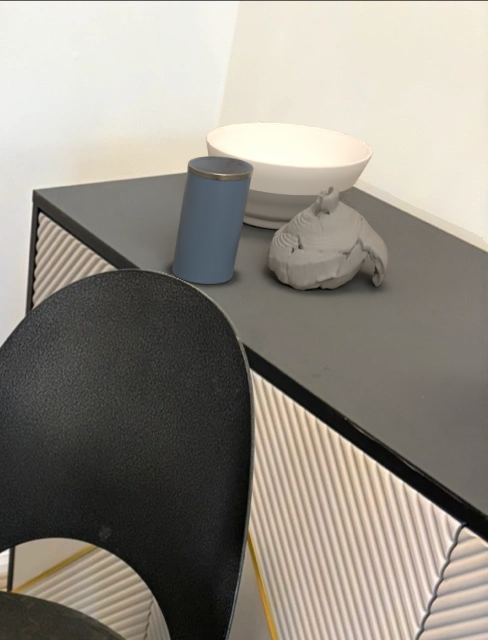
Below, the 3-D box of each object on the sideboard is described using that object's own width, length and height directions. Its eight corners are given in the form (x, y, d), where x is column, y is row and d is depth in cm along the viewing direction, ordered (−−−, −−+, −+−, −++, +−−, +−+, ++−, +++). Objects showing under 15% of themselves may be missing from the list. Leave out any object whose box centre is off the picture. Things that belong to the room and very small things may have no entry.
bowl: (337, 253, 128) (356, 176, 122) (174, 225, 134) (186, 151, 128) (366, 207, 141) (385, 136, 135) (217, 183, 147) (229, 114, 142)
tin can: (209, 259, 125) (227, 153, 118) (245, 279, 121) (267, 170, 114) (159, 267, 123) (175, 159, 116) (194, 287, 119) (213, 177, 111)
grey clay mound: (318, 327, 118) (320, 231, 110) (246, 289, 125) (243, 197, 118) (407, 278, 120) (415, 180, 112) (330, 244, 127) (333, 150, 120)
